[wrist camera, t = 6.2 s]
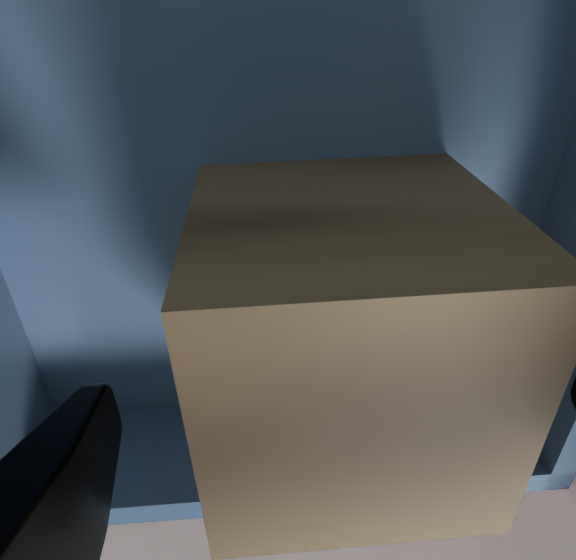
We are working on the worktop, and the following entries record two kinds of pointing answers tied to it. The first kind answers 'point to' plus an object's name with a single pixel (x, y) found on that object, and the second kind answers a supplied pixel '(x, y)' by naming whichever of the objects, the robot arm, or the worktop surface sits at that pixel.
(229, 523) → the cube
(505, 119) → the tote
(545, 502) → the worktop surface
